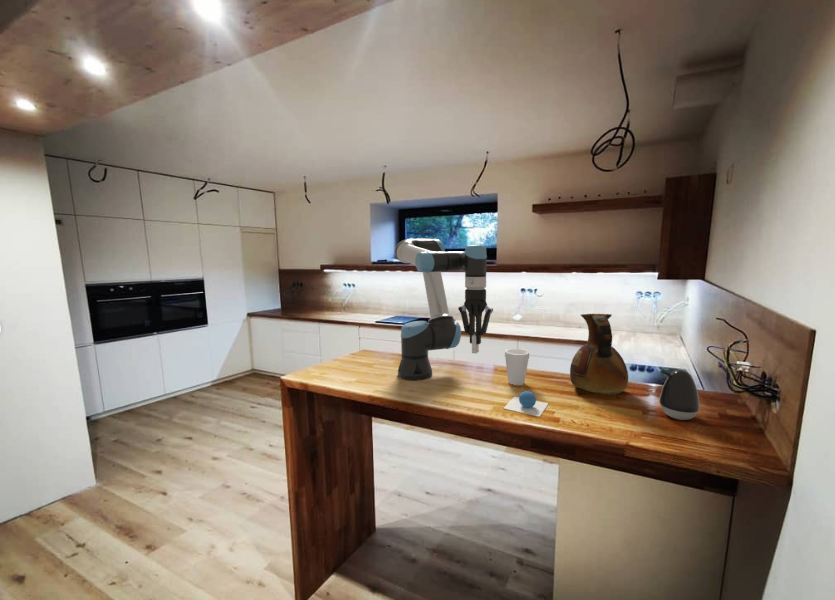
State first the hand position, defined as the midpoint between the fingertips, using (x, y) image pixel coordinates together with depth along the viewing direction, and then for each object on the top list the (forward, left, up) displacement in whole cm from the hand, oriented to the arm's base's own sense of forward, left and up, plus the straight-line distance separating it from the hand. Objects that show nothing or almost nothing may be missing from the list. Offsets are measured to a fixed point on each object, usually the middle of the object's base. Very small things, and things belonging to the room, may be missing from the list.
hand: (475, 352), depth 130 cm
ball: (+19, -1, -14) cm, 24 cm away
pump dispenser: (+62, +17, -17) cm, 66 cm away
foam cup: (+9, +21, -17) cm, 28 cm away
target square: (+19, 0, -16) cm, 25 cm away
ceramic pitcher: (+38, +28, -17) cm, 50 cm away
